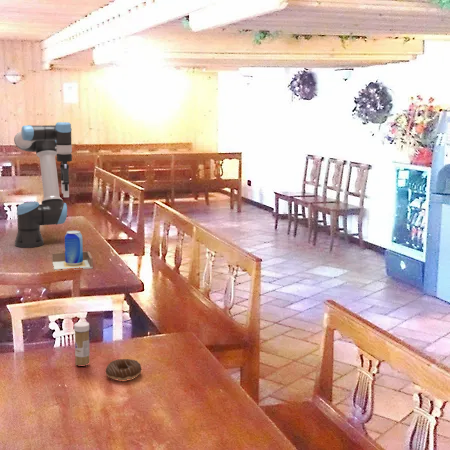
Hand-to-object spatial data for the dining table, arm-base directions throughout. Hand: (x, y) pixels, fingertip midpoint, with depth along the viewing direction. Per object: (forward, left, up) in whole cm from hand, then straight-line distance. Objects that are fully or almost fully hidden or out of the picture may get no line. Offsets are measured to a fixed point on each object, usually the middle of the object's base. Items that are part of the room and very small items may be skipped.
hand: (65, 195), depth 329 cm
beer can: (+21, +2, -31) cm, 37 cm away
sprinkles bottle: (+142, -6, -32) cm, 146 cm away
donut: (+153, +5, -32) cm, 156 cm away
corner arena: (+21, +1, -32) cm, 38 cm away
